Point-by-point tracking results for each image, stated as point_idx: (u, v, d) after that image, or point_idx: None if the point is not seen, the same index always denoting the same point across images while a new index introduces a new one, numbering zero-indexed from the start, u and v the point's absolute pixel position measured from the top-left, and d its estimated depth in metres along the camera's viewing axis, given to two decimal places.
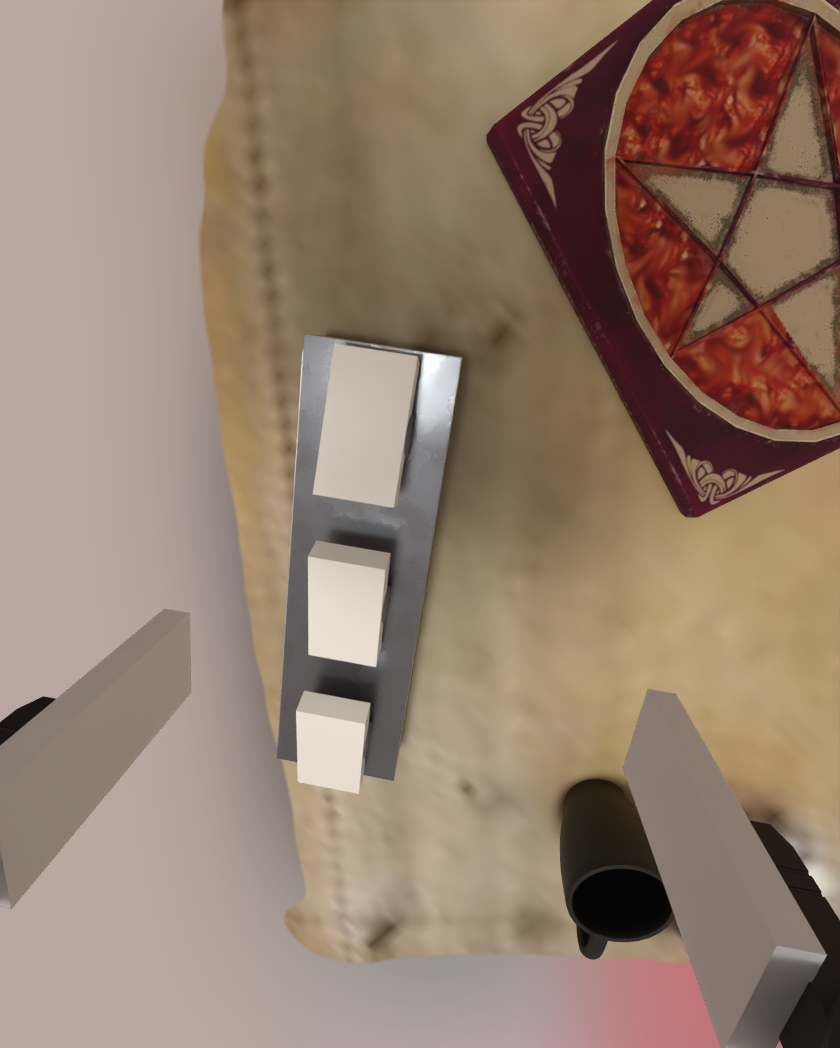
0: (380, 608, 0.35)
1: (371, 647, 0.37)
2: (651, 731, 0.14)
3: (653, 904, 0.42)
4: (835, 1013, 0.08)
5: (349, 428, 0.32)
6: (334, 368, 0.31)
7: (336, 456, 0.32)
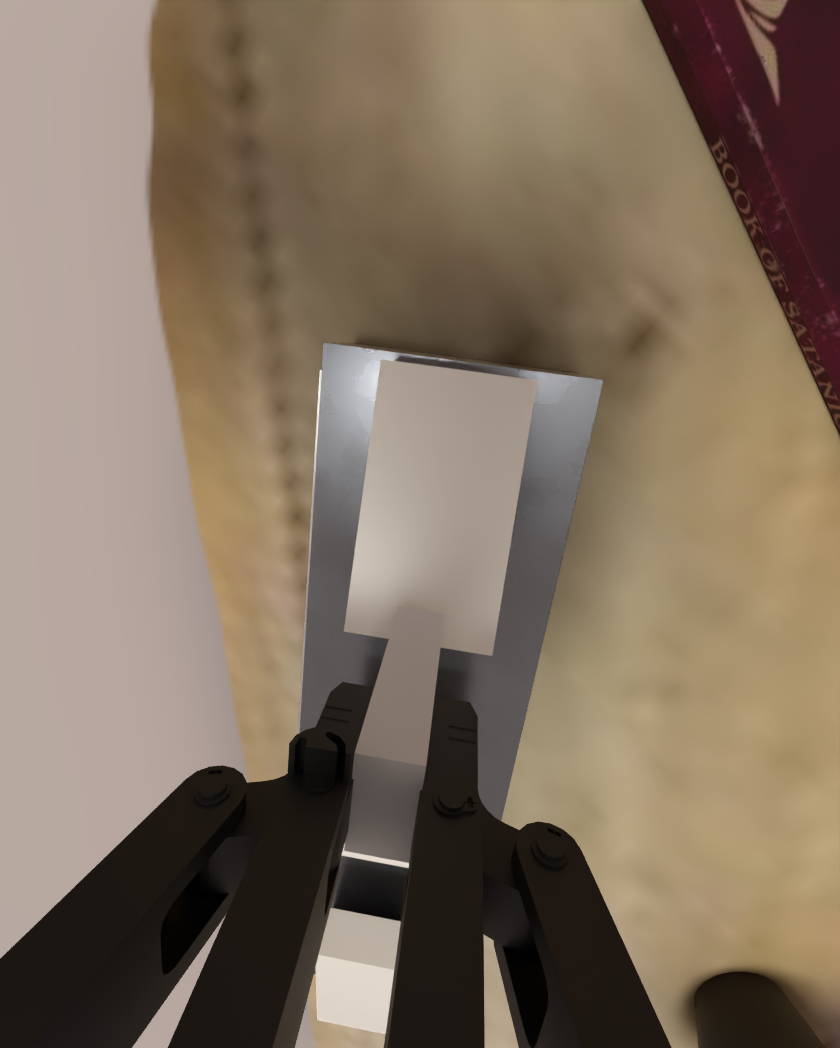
0: None
1: None
2: None
3: None
4: (416, 822, 0.10)
5: (410, 513, 0.17)
6: (381, 404, 0.17)
7: (386, 564, 0.17)
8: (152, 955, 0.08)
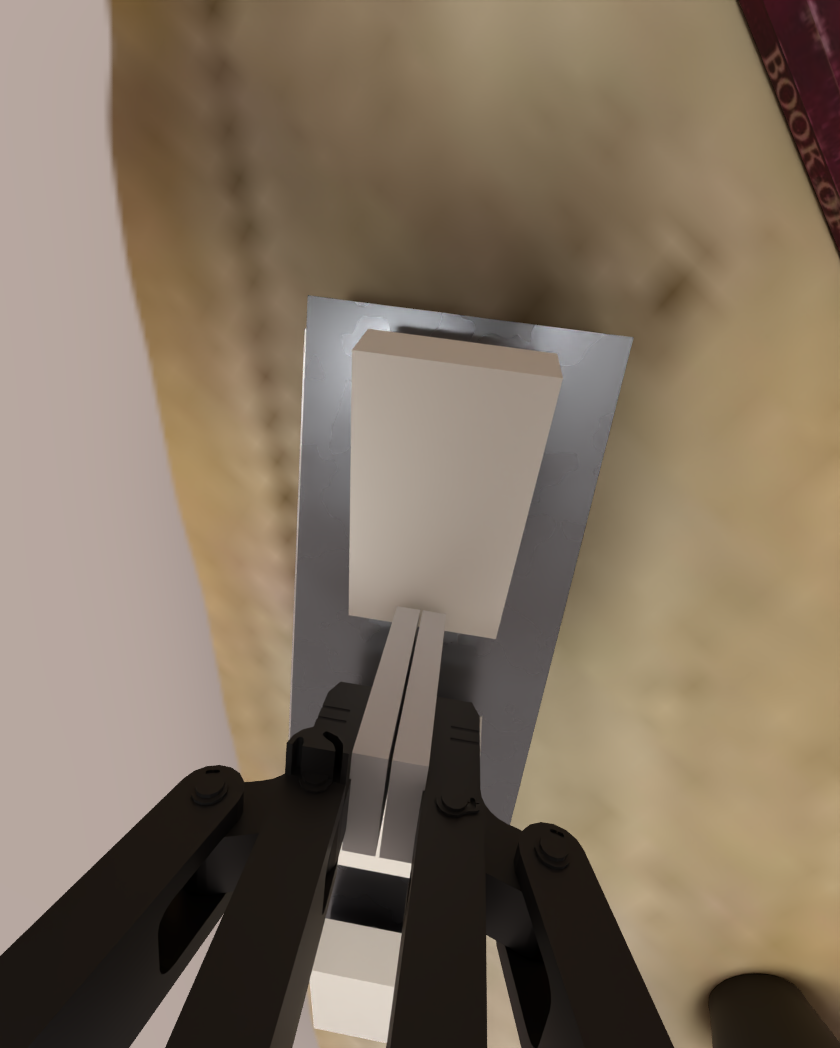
0: None
1: None
2: None
3: None
4: (419, 823, 0.10)
5: (405, 521, 0.15)
6: (359, 407, 0.13)
7: (384, 564, 0.16)
8: (150, 954, 0.08)
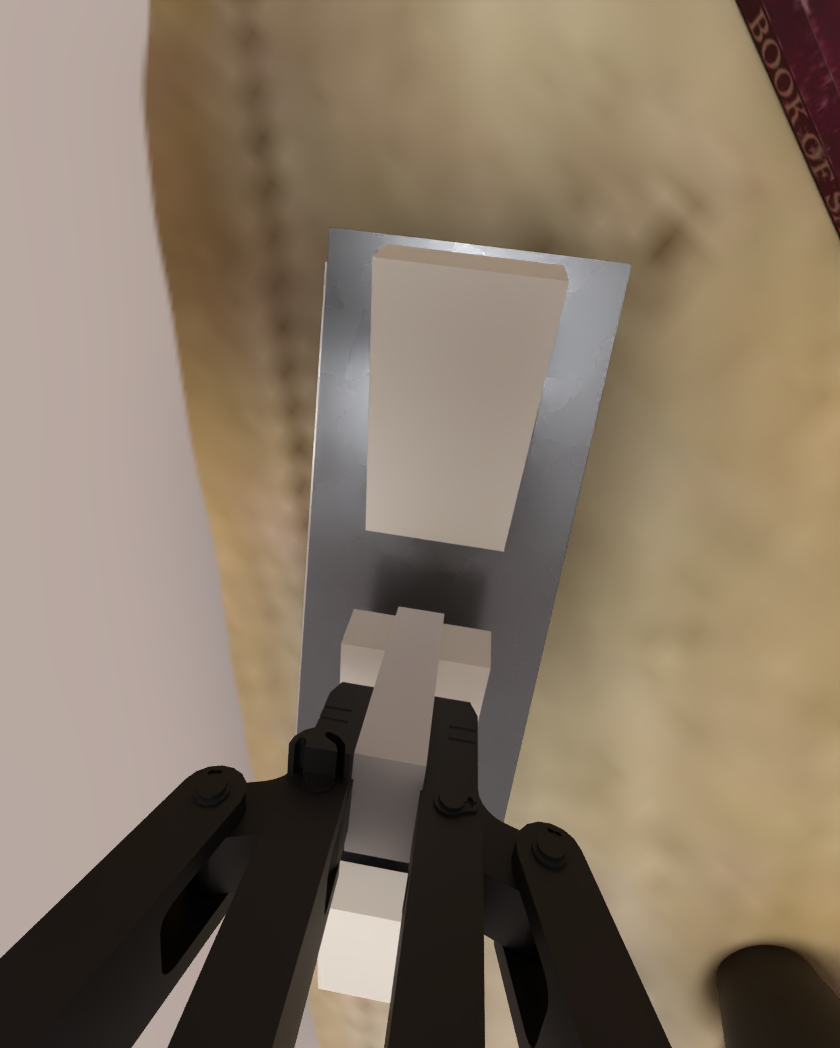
0: None
1: None
2: None
3: None
4: (417, 823, 0.10)
5: (420, 431, 0.16)
6: (379, 315, 0.14)
7: (399, 477, 0.17)
8: (152, 955, 0.08)
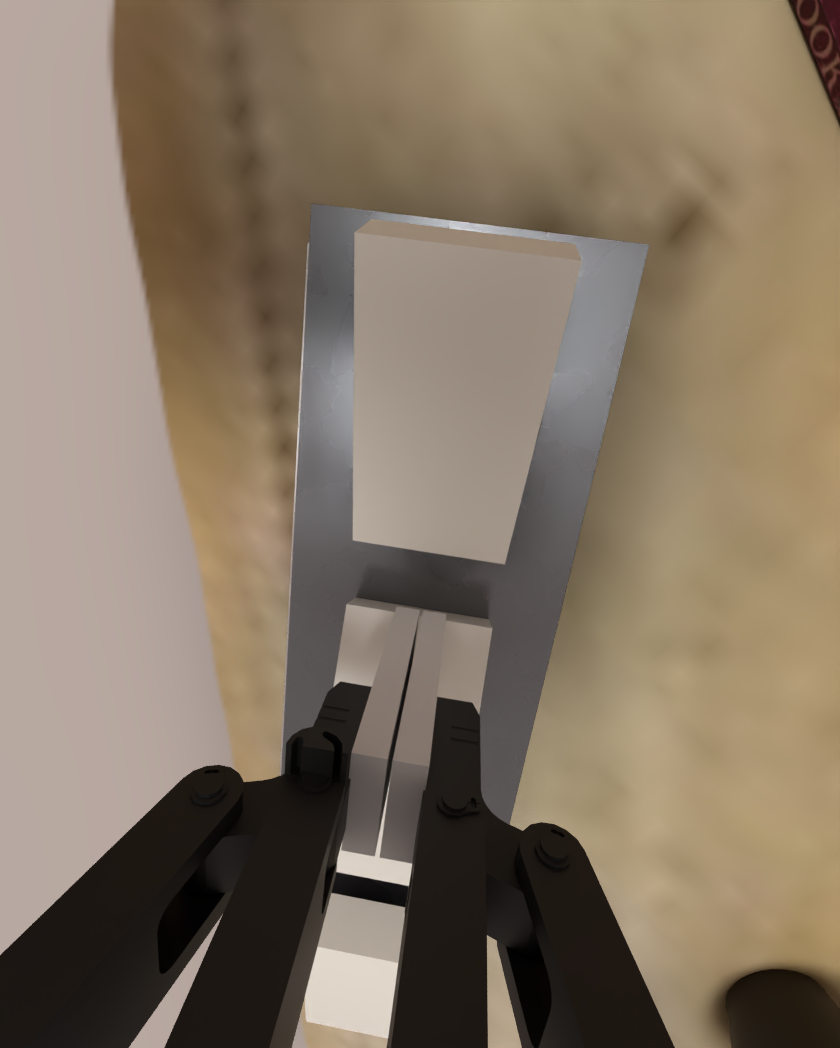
0: None
1: None
2: None
3: None
4: (420, 823, 0.10)
5: (411, 433, 0.15)
6: (363, 300, 0.13)
7: (389, 483, 0.16)
8: (149, 954, 0.08)
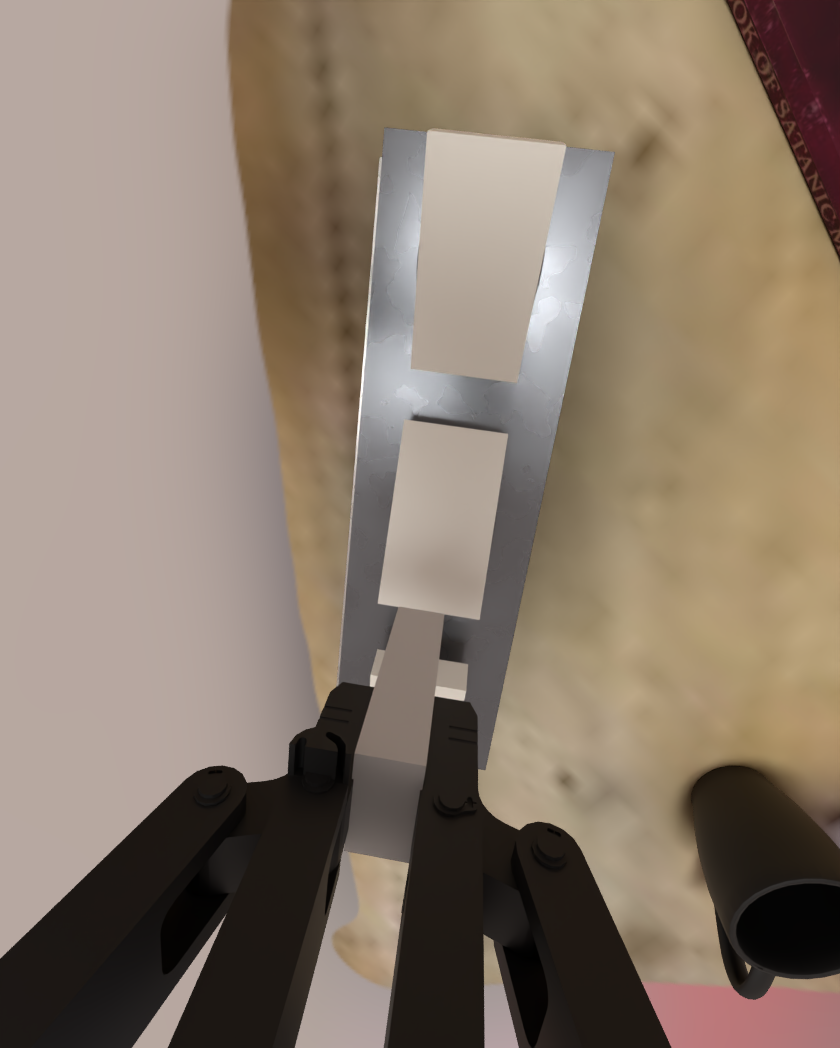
0: (495, 502, 0.25)
1: (475, 579, 0.25)
2: None
3: (838, 928, 0.32)
4: (416, 822, 0.10)
5: (456, 276, 0.22)
6: (429, 178, 0.20)
7: (439, 318, 0.23)
8: (152, 955, 0.08)
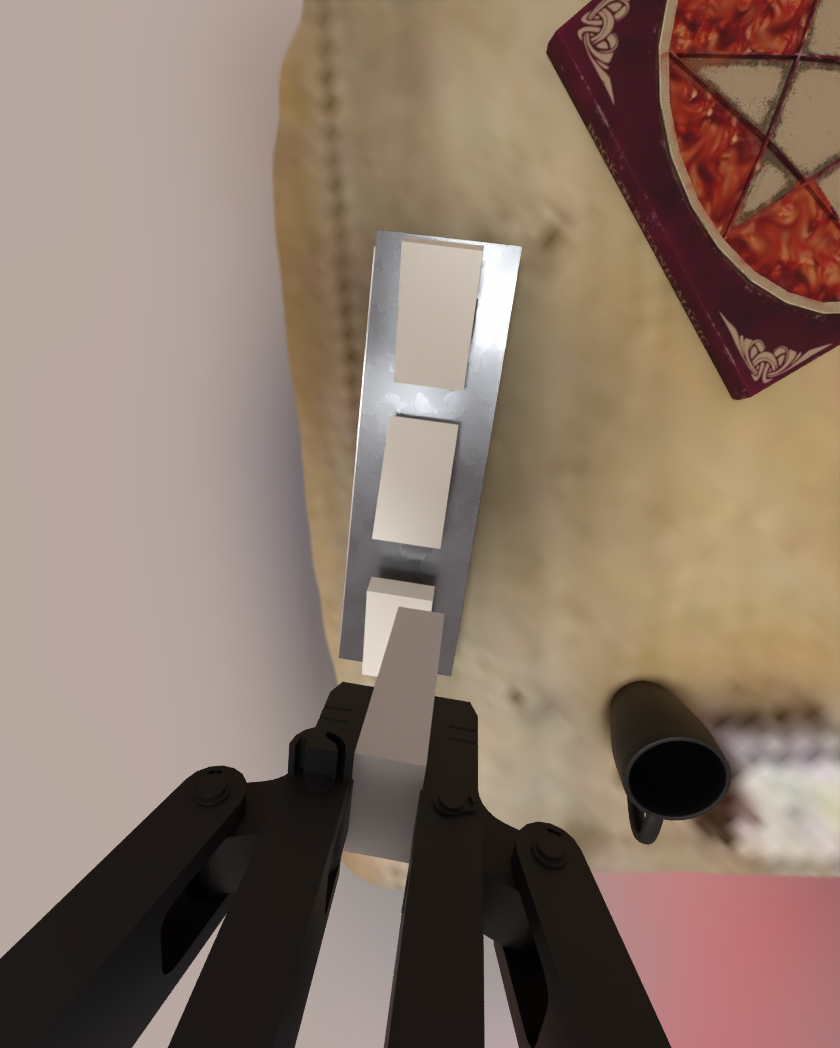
0: (450, 470, 0.38)
1: (437, 521, 0.38)
2: None
3: (705, 785, 0.44)
4: (416, 822, 0.10)
5: (421, 324, 0.35)
6: (403, 267, 0.33)
7: (411, 349, 0.36)
8: (152, 955, 0.08)
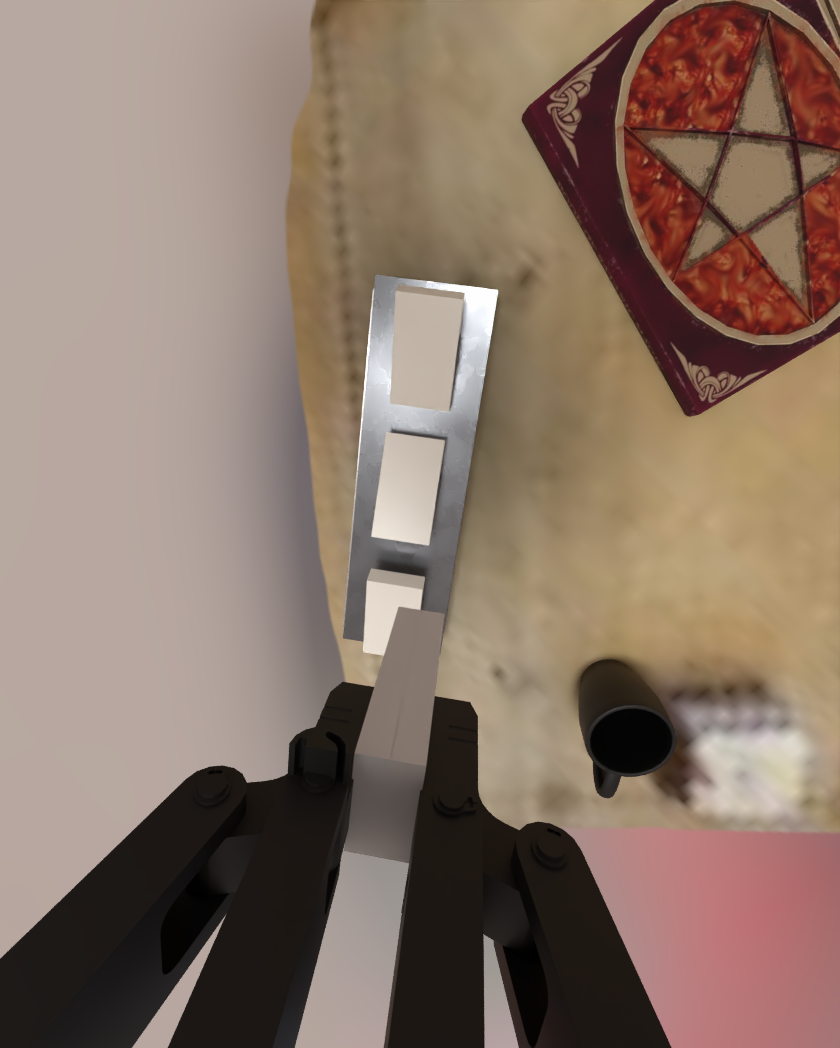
0: (437, 478, 0.45)
1: (426, 522, 0.45)
2: None
3: (657, 747, 0.51)
4: (416, 822, 0.10)
5: (412, 357, 0.42)
6: (397, 311, 0.40)
7: (404, 377, 0.43)
8: (152, 955, 0.08)
